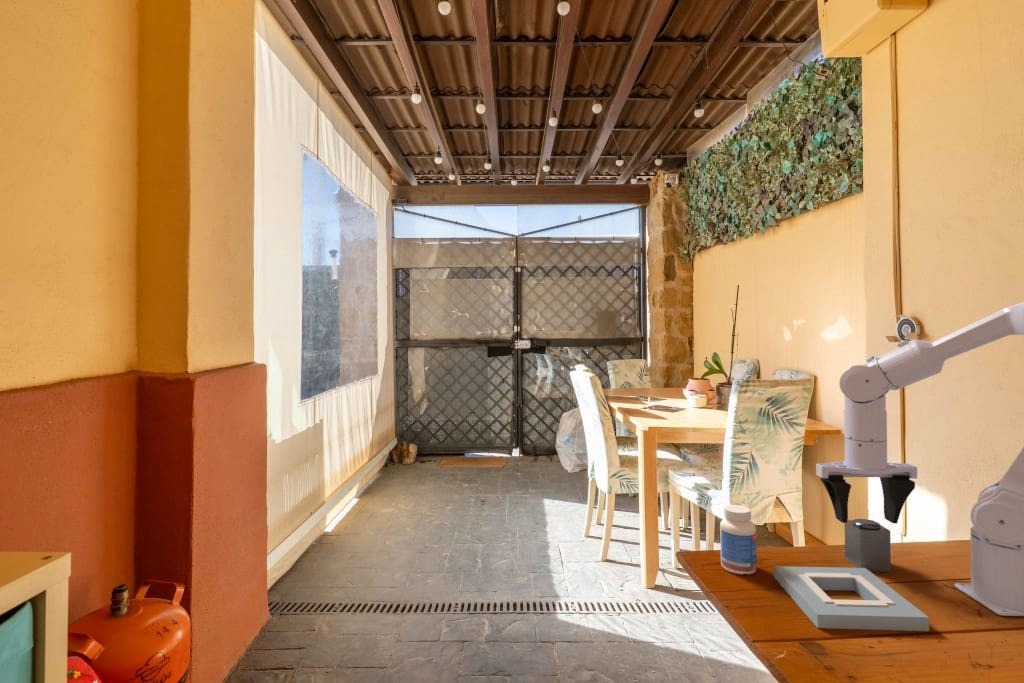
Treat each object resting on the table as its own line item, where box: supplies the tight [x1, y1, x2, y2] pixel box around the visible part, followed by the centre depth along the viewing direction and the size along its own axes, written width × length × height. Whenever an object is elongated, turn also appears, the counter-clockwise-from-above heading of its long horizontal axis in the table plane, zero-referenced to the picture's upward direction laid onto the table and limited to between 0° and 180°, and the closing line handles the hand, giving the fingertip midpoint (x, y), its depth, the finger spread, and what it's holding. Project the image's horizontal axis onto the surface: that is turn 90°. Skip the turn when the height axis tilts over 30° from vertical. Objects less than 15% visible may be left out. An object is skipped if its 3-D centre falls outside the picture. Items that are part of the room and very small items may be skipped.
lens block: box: [844, 518, 892, 572], centre depth 83 cm, size 4×4×7 cm
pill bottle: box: [719, 504, 758, 575], centre depth 83 cm, size 6×5×10 cm
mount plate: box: [773, 565, 930, 632], centre depth 72 cm, size 14×14×2 cm
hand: (866, 520), depth 83 cm, fingers open, 7 cm apart
